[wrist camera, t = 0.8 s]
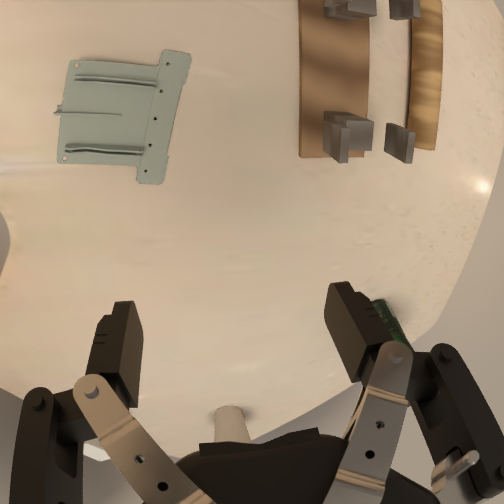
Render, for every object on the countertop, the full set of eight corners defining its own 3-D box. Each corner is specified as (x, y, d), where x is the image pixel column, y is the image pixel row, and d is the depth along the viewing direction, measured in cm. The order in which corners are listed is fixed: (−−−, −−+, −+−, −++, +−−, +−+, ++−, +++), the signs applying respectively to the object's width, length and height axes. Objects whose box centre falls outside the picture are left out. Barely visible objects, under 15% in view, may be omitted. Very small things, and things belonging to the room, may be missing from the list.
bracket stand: (297, -26, 24) (336, -57, 15) (363, -15, 25) (419, -33, 15) (298, 155, 36) (334, 190, 26) (360, 154, 37) (409, 188, 27)
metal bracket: (46, 187, 27) (63, 39, 20) (53, 168, 31) (70, 42, 24) (174, 190, 34) (206, 56, 27) (165, 172, 38) (191, 56, 31)
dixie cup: (218, 423, 66) (223, 461, 57) (202, 408, 61) (206, 449, 53) (252, 414, 65) (259, 452, 57) (239, 398, 60) (246, 441, 52)
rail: (404, -4, 25) (423, -7, 22) (428, 4, 26) (448, 3, 23) (400, 140, 36) (417, 149, 33) (422, 142, 37) (440, 151, 34)
